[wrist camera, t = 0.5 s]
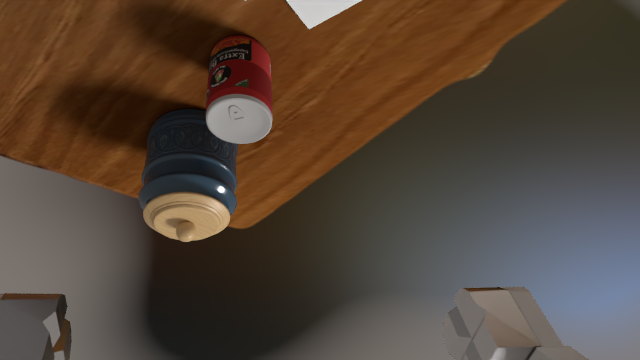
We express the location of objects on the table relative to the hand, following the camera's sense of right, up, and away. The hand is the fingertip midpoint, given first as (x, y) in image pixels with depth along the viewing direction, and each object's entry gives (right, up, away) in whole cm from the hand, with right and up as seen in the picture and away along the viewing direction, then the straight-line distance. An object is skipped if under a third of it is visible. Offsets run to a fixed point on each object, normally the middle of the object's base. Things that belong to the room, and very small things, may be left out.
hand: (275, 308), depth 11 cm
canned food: (-9, +18, +57) cm, 60 cm away
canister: (-18, +9, +68) cm, 71 cm away
